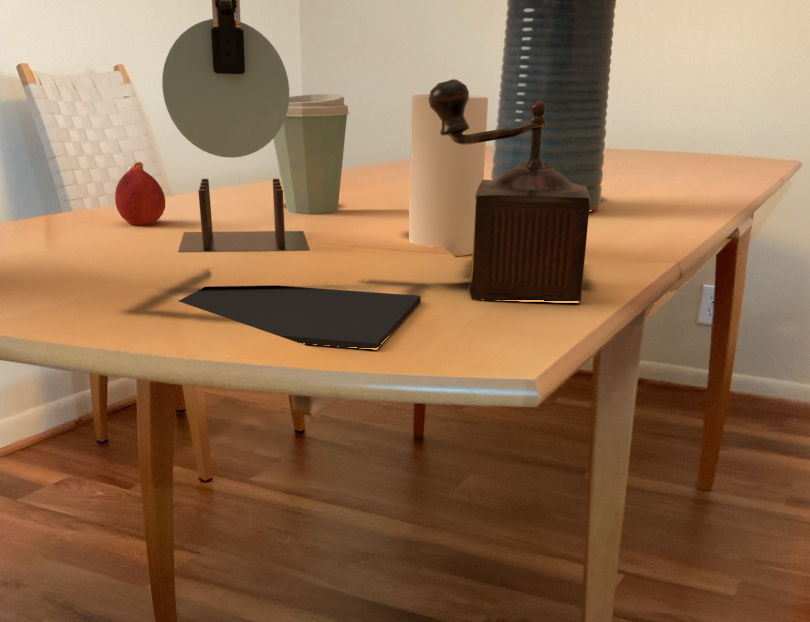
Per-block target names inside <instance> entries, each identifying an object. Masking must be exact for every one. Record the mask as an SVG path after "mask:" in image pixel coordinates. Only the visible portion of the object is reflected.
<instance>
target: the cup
mask: <svg viewBox="0 0 810 622" xmlns="http://www.w3.org/2000/svg"><path fill="white" fill-rule="evenodd" d="M429 95H430V93H422V94H421V93H419V94H418V93H417V94H412V95H411V111H410V112H411V116H410V117H411V118H410V120H411V121H410V126H411V127H410V161H409V162H410V163H409V164H410V165H409V172H410V173H409V213H408V214H409V215H408V216H409V218H408V219H409V220H408V242H409V243H411V244H414V245H417V246H422V247H429V248H440V249H441V248H443V249H446V250H447V251H448V252H449V253H451V255H452V256H454V257H461V256H462V257H463V256H471V255H473V238H474V222H475V207H476V199H475V194H476V192H477V190H478V187H479V185H480V183H481V181H482V180H485V179H484V177H485V163H486V161H485V160H486V144H487V141H486V142H480V143H475V144H467V145H461V144H458V143H455V142H454V141H453V140H452V139H451V137H450V136H448V135H441V134H440V131H441V129H442V121H441V119H440V118H439V116H438V115H437V114H436V112H435V111H434V110H433V109H432V108H431V107H430V104H429V100H428V99H429ZM488 106H489V97H488V96H487V95H486V96H485V95H477V94H476V95H475V94H469V99H468V102H467V104H466V106H465V111H464V118H465V120H466V122H467V124H468V125H469V129H468V130H466V131H465V132H463V135H467V134H475V133H480V132H486V131H487V127H488V126H487V125H488V108H489V107H488ZM470 254H471V255H470Z"/></svg>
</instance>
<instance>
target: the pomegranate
mask: <svg viewBox="0 0 810 622" xmlns="http://www.w3.org/2000/svg"><path fill="white" fill-rule="evenodd" d="M114 201H115V202H114V203H115V206H116V210H117V212H118V213H119V215H120V217H121V218H122V219H123V220H124V221H125V222H127V223H128V224H129V225H131V226H140V227H141V226H142V227H143V226H144V227H145V226H152V225H154V224H156V223H157V222H158V221H159V220H160V218H162V216H163V215H164V212H165V209H166V196H165V193H164V191H163V188H162V186H161V184H160V183H159V182H158V181H157V180H156V178H154V177H153V176H152V175H151V174H150V173H148V172H147V171H145V170H144V164H143V162H141V161H136V162H134V163H133V165H131V167H130V169H129V170H128V171H126V172H125V173H124V174H123V175H122V177H121V178H120V179H119V180H118V182H117V185H116V187H115V192H114Z"/></svg>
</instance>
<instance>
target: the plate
mask: <svg viewBox="0 0 810 622" xmlns="http://www.w3.org/2000/svg"><path fill="white" fill-rule="evenodd" d="M218 26H219V24H218ZM211 29H213V18H210V19H206V20H202V21H199V22H197V23H195V24H193V25H191V26H190V27H188V28H187V29H185V30H184V31H183V32H182V33H180V35H179V36H177V38H176V40H174V42H173V43H172V45H171V47H170V49H169V50H168V53H167V55H166V57H165V59H164V64H163V68H162V74H161V75H162V76H161V87H162V95H163V101H164V104H165V107H166V110H167V112H168V115H169V117H170V119H171V121H172V122H173V124H174V126H175V127H176V129H177V130H178V131H179V133H180V134H181V135H182V137H184V138H185V139H186V140H187V141H188V142H189V143H190V144H192V145H193V146H194V147H196V148H197V149H200V150H201V151H203V152H206V153H208V154H210V155H213V156H215V157H221V158H232V159H233V158H242V157H246V156H249V155H251V154H254V153H257V152H259V151H261V149H263V148H264V147H266V146H267V145H268V144H270V143H271V141H273V138H274V137H275V136H276V134H277V133H278V132H279V130H280V128H281V127H282V125H283V123H284V120H285V117H286V115H287V110H288V106H289V97H290V83H289V77H288V74H287V70H286V67H285V64H284V62H283V60H282V58H281V56H280V54H279V52H278V50H277V49H276V48H275V47H274V45H273V44H272V42H271V41H270V40H269V39H268V38H267V37H266V36H265V35H263V33H261V32H260V31H258V30H257V29H255V28H254V27H253V26H251V25H249V24H247V23H245V22H243V21H241V30H243V32H244V57H245V72H244V74H218V73H215V72H214V70H213V55H212V37H211ZM235 30H236V24H235Z"/></svg>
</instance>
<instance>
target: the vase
mask: <svg viewBox="0 0 810 622" xmlns="http://www.w3.org/2000/svg"><path fill="white" fill-rule="evenodd" d="M616 6H617V0H507V3H506V8H507V10H506V14H505V17H506V20H505V30H504V39H503V48H502V59H501V62H502V65H501V69H500V70H501V74H500V83H499V92H498V102H497V105H498V108H497V117H496V125H495V128H494V130H499V129H506V128H515V127H518V126H521V125H525V124H529V123H530V119H531V118H532V117H533V114H532V109H531V107H532V106H533V104H534V102H537V101H542V102H544V104H545V105H546V110H545V113H544V115H543V117H544V119H545V121H546V126H544V127H543V128H542V137H541V151H540V159H541V161H542V164H547V165H550V166H551V167H553V168H554V169H555V170H556V171H558V172H560V173H561V174H562V175H563V176H564V177H566V178H567V179H568V180H569V181H571V182H574V183H585V185H586V187H587V190H588V193H589V197H590V205H589V211H590V210H594V209H595V210H596V209H597V208H598V207H599V206H600V204H601V200H602V191H603V189H602V182H603V178H604V177H603V176H604V171H603V167H604V164H605V154H604V151H605V150H606V140H605V139H606V136H607V130H606V129H607V128H606V125H607V116H608V111H607V110H608V108H609V107H608V106H609V103H608V100H609V90H610V85H609V84H610V82H611V81H610V80H611V77H610V74H611V71H612V69H611V64H612V55H613V49H612V48H613V44H614V41H613V37H614V27H615V22H614V20H615V17H616V13H615V10H616ZM531 138H532V130H530V131H528V132H526V133H524V134H522V135H520V136H516V137H510V138H504V139H498V140H493V146H494V149H493V152H492V167H491V171H490V172H491V173H490V178H491V180H497V179H498V178H499V177H500V176H501V175H502V174H504V173H506V172H508V171H509V170H512V169H513V168H515V167H516V166H518V165H519V164H520V163H528V161H529V159H530V153H531ZM595 210H594V211H595Z"/></svg>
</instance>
